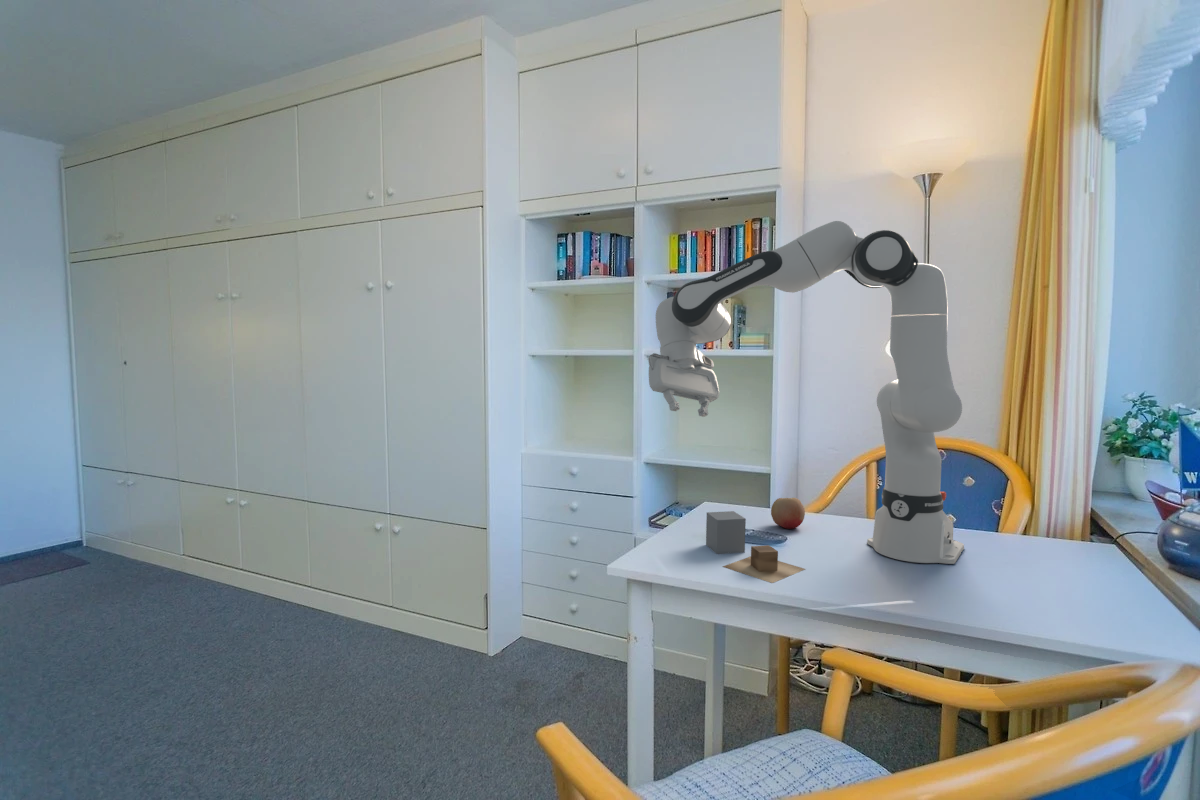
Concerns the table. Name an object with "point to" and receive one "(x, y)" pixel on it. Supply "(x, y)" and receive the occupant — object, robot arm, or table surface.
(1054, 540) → the table surface
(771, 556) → the walnut block
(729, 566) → the cork mat
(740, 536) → the plain grey cube
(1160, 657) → the table surface
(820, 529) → the table surface
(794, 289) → the robot arm
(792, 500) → the fruit
